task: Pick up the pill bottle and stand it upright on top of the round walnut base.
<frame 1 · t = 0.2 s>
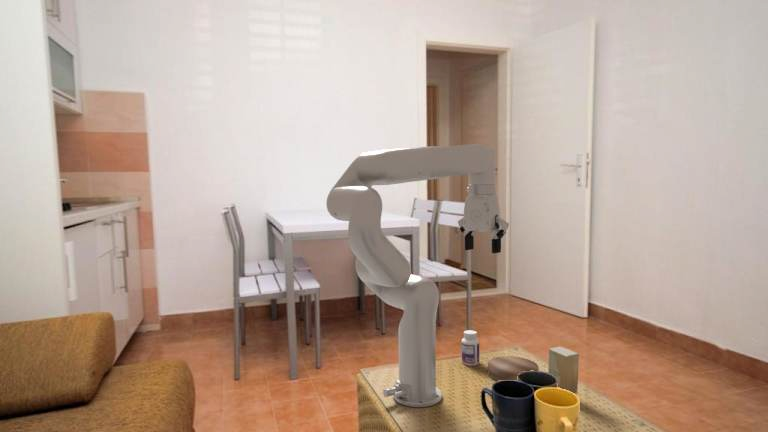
hand: (482, 251, 133), 36 cm above the table, tool pointing down, fingers open, 9 cm apart
walnut base: (512, 375, 134), on the table
skincare box: (562, 398, 120), on the table
pill bottle: (470, 363, 144), on the table
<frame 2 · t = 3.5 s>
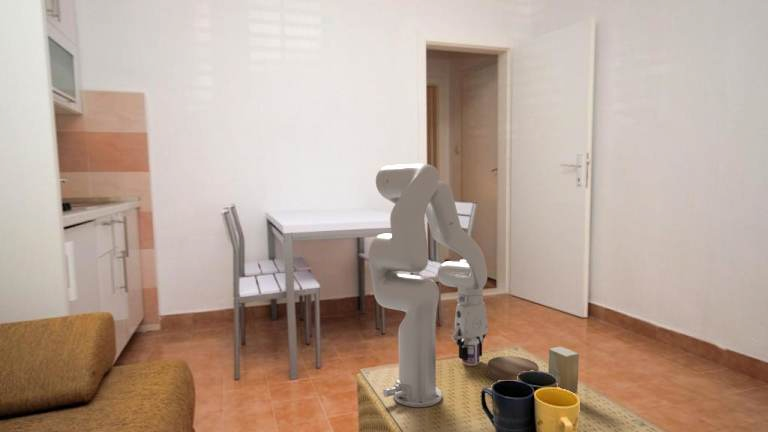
hand: (470, 356, 144), 2 cm above the table, tool pointing down, fingers closed on pill bottle, 5 cm apart
pill bottle: (470, 363, 144), on the table, touching gripper
everything else where it was.
when the fingers open (6 cm above the table, at t = 8.5 s): pill bottle drops 1 cm, resting on walnut base.
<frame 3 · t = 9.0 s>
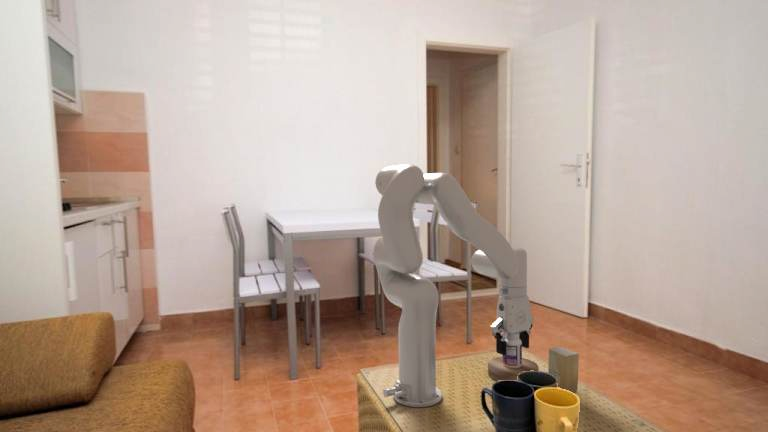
hand: (512, 350, 134), 7 cm above the table, tool pointing down, fingers open, 9 cm apart
pill bottle: (512, 365, 134), point 3 cm above the table, touching walnut base
everything else where it was.
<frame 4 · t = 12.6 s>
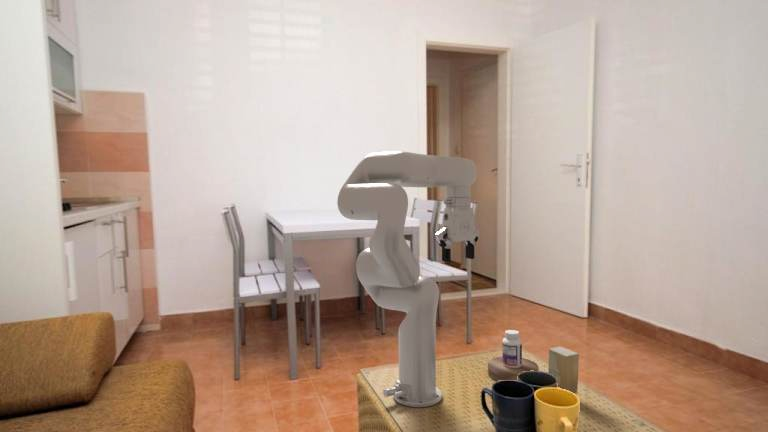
hand: (458, 260, 141), 32 cm above the table, tool pointing down, fingers open, 9 cm apart
nothing on the table moved.
at the end: pill bottle 0.3 cm off-centre on the walnut base, point 2.8 cm above the walnut base's base; pill bottle tilted 0°; pill bottle touching walnut base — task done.
